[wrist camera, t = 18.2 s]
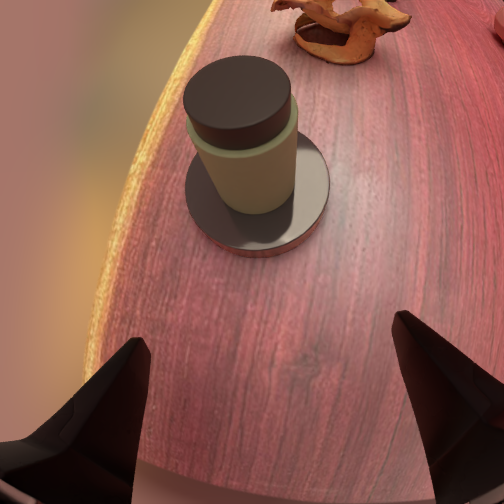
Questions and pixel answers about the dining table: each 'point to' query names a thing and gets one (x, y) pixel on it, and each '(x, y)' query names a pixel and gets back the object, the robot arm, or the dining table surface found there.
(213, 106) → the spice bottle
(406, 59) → the dining table surface
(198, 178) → the trivet
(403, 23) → the bone
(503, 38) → the pink bud vase
